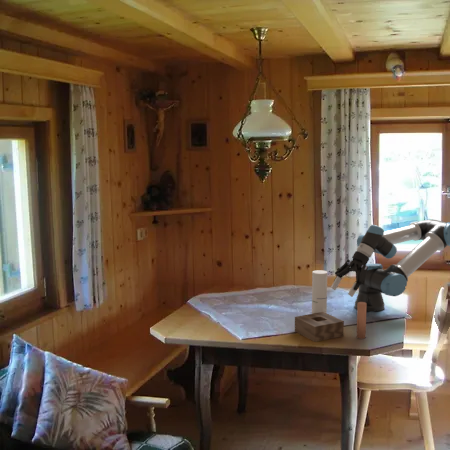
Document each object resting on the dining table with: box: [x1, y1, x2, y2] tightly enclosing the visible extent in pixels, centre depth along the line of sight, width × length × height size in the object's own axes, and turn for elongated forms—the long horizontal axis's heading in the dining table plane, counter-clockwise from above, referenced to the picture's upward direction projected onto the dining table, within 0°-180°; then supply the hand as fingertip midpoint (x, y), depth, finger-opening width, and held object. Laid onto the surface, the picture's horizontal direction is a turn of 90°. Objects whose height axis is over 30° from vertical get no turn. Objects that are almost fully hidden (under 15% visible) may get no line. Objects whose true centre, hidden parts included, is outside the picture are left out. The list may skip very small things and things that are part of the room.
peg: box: [356, 302, 367, 340], centre depth 286 cm, size 4×4×16 cm
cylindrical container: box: [311, 269, 328, 314], centre depth 308 cm, size 7×7×25 cm
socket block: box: [294, 312, 345, 342], centre depth 292 cm, size 16×16×7 cm
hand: (341, 292), depth 305 cm, fingers open, 13 cm apart
